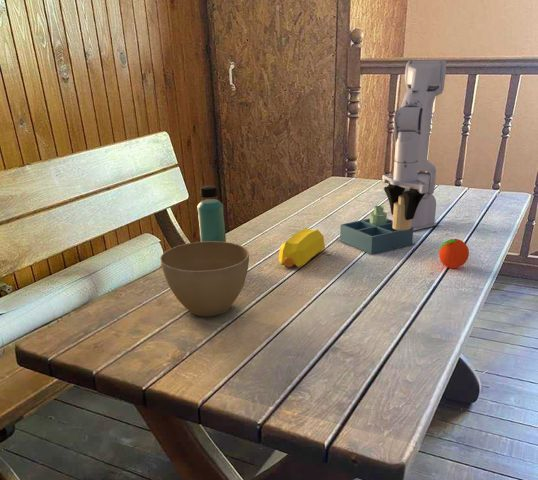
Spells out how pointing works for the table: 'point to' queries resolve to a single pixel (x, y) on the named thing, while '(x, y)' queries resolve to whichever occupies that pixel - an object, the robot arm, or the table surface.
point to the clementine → (453, 253)
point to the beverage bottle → (211, 216)
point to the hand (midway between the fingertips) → (402, 216)
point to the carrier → (374, 236)
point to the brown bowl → (206, 275)
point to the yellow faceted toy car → (301, 247)
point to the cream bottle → (400, 215)
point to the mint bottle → (378, 216)
